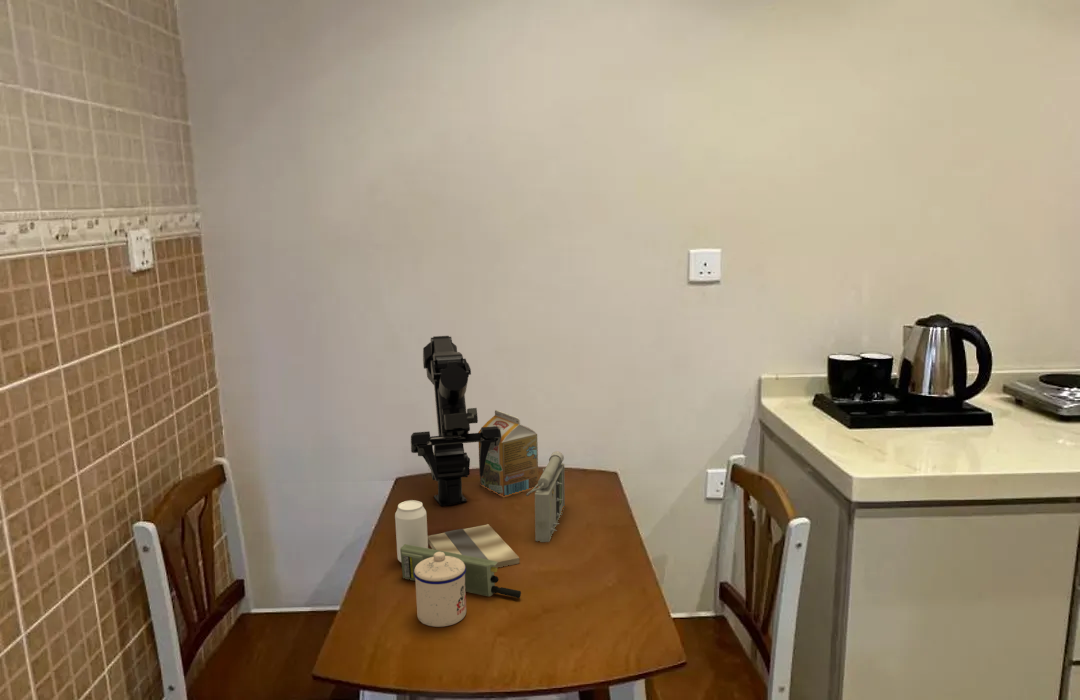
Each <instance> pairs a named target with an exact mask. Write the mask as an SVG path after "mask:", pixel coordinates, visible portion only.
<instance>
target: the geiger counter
mask: <svg viewBox="0 0 1080 700" xmlns="http://www.w3.org/2000/svg"><path fill="white" fill-rule="evenodd" d="M564 459H565V458H564V454H563V452H561V451H557V450H556V451H553V452H552V454H551V455H550V456H549V459H548V463H547V465H546V467H544V468H542V474H541V475H540V477H539V478H538V484H537V485H536V486H535V487H534V488H533V489H532V490H529V491H527V493H526V494H525V496H526V497H528V496H530V495H531V494H532V493H533V492H534V514H535V515H534V522H535V523H534V529H535V530H534V533H535V535H534V537H535V538H534V539H535V542H538V541H540V543H550V541H551V539H552V537H553V535H552V534H554V532H557V531H558V530H557V529H556V528H555V527H557V526H558V525H561V524H560V523H559V521H560V519H559V518H561V516H562V515H563V514H564V513H563V512H561V511H562V508H563V506H566V505H565V502H566V501H565V499H566V498H565V488H566V487H565V463H563V462H564ZM537 487H538V488H537ZM561 513H562V514H561ZM560 515H561V516H560ZM558 520H559V521H558ZM551 536H552V537H551Z"/></svg>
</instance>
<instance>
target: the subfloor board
mask: <svg viewBox="0 0 1080 700" xmlns="http://www.w3.org/2000/svg"><path fill="white" fill-rule="evenodd" d="M427 536H428V546H430V549H434V550H439V551H445V552H450V553H455V554H460V555H466V556H471V557H476V558H482V559H487V560H492V561H496V562H498V563H497V564H496V565H495V566H494V567H497V569H499V568H498V567H500V568H503V566H504V567H507V566H508V565H509V566H513V565H517V564H520V557H519V555H518V554H517V553H516V552H515V551H514V550H513V549H512V548H511V547H510V546H509V544H508V543H506V542H505V541H504V540H503V538H502V537H501V536H500V535H499V534H498V533H497V532H496V531H495V529H494V528H493V527H492V526H490V524H488V523H487V524H483V525H477V526H473V527H468V528H458V529H452V530H448V531H444V532H442V533H436V534H431V535H427Z"/></svg>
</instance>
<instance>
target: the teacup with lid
mask: <svg viewBox="0 0 1080 700" xmlns="http://www.w3.org/2000/svg"><path fill="white" fill-rule="evenodd" d="M465 572H466V567H465V564H464V563H463V562H462V561H461V560H460V559H458V558H455V557H451V556H445V554H444V553H443V552H436V553H435V554H434V557H430V558H427V559H425V560H423V561H421V562H419V563H418V564H417V565H416V567H415V569H414V576H415V596H416V597H415V598H416V600H415V601H416V613H417V614H416V616H417V619H418V621H419V622H421V624H423V625H426V626H429V627H434V628H435V627H436V628H443V627H448V626H452V625H455V624H457V623H459V622H460V621H462V620H463V619H464V618H465V616H466V614H467V595H466V594H467V593H466V590H465Z"/></svg>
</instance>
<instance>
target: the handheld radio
mask: <svg viewBox="0 0 1080 700" xmlns="http://www.w3.org/2000/svg"><path fill="white" fill-rule="evenodd" d="M400 551H401V562H402V563H401V562H400V563H401V572H402V574H401V575H402V578H403V579H404V578H405V580H409V579H410V581H413V582H414V581H415V576H414V569H415V567H416V565H417V564H418V563H419V562H421V561H423V560H425V559H427V558H430V557H434V554H435V553H436V552H443V553H444V554H445V556H451V557H455V558H458V559H460V560H461V561H462V562H463V563H464V564H465V567H466V572H465V590H466V592H467V593H470V594H476V595H481V596H485V597H491V596H493V595H494V594H499V595H503V596H507V597H512V598H517V599H520V598H521V596H522V592H521V590H518V589H517V590H516V589H511V588H507V587H499V586H497V585H496V584H497V583H499V577H498V576H497V575H495V573H497V572H498V568H497V567H494V566H495V565H496V564H497V563H498V562H496V561H492V560H487V559H482V558H476V557H471V556H466V555H460V554H455V553H450V552H445V551H439V550H434V549H432V548H429V547H428V548H423V547H418V546H413V545H407V544H404V545H403V546H402V547H401V548H400ZM415 582H416V581H415Z"/></svg>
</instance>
